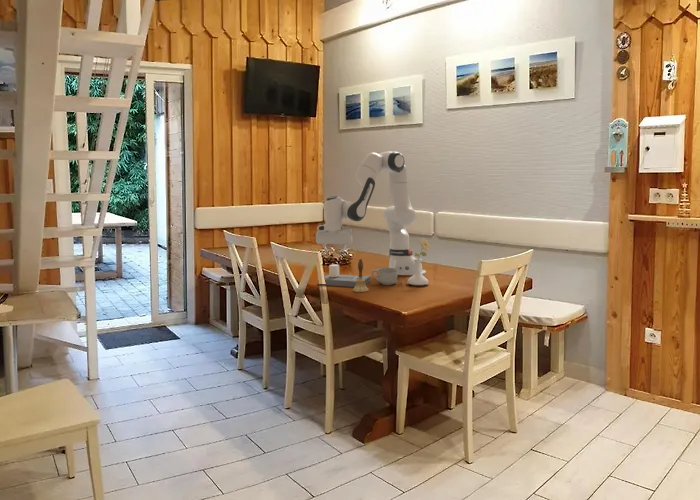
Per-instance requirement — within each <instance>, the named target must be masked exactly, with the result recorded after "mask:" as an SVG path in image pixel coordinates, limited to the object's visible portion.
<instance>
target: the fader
mask: <svg viewBox="0 0 700 500" xmlns="http://www.w3.org/2000/svg"><path fill="white" fill-rule="evenodd" d="M328 270H329V273H328V274H329V277H338V276H339V275H340V264H334V263H333V264H329V266H328Z"/></svg>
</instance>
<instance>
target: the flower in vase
mask: <svg viewBox="0 0 700 500" xmlns="http://www.w3.org/2000/svg"><path fill="white" fill-rule="evenodd" d="M419 244H420V247H421V249H420V253H417V252H415V253H414V257H415V256H416V257H417V258H416V259H413V260H414V262H415V265H416V271H415V274H414V275H410V277H409V278H408V279H407V281H406V282H407V284H408V285H412V286H416V287H417V286H426V285H428V284H429V279H427V278H426V277H425V276H424V274H423V275H422V274H421V273H420V264H422V261H423V258H421V256H422V257H427V255H428V254H427V253H426V252H430V251H431V247H432V245H431V244H430V243H429V240H428V239H426V238H425V237H422V238H420V241H419ZM424 251H425V252H424Z"/></svg>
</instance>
